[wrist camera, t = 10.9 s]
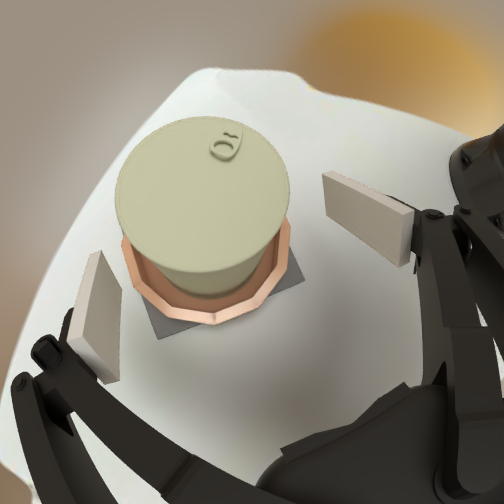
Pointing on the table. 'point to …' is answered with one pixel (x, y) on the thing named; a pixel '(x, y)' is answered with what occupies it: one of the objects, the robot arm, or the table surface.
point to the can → (203, 203)
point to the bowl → (217, 310)
